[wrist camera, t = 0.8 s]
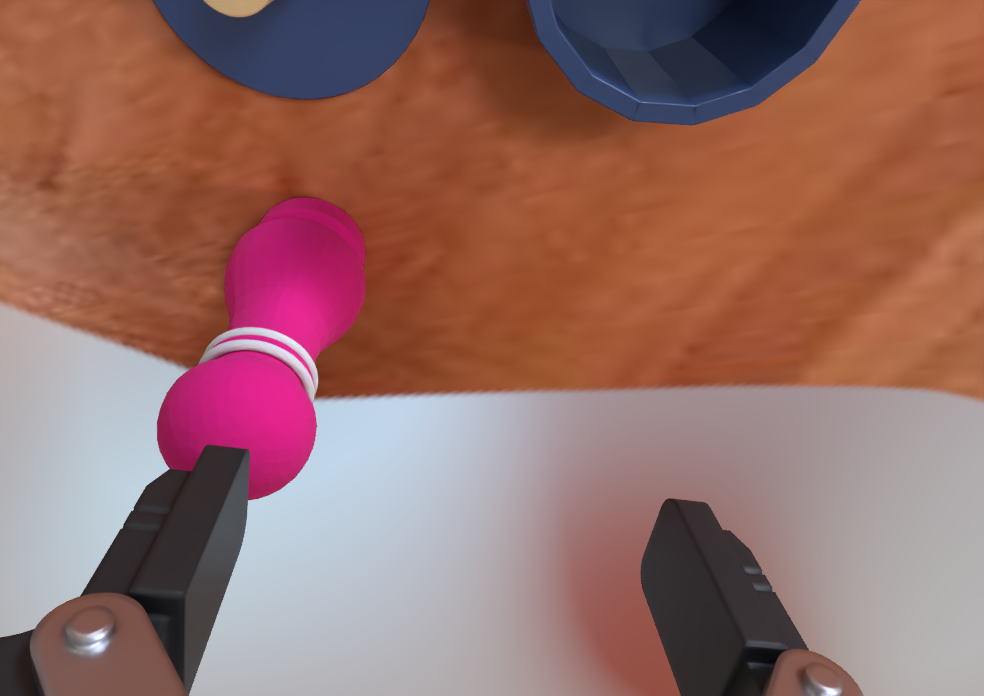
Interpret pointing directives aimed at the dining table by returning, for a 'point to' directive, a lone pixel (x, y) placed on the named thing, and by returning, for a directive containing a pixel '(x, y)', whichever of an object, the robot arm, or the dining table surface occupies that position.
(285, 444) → the pepper mill
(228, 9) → the lid
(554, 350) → the dining table surface
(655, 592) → the robot arm
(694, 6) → the can
